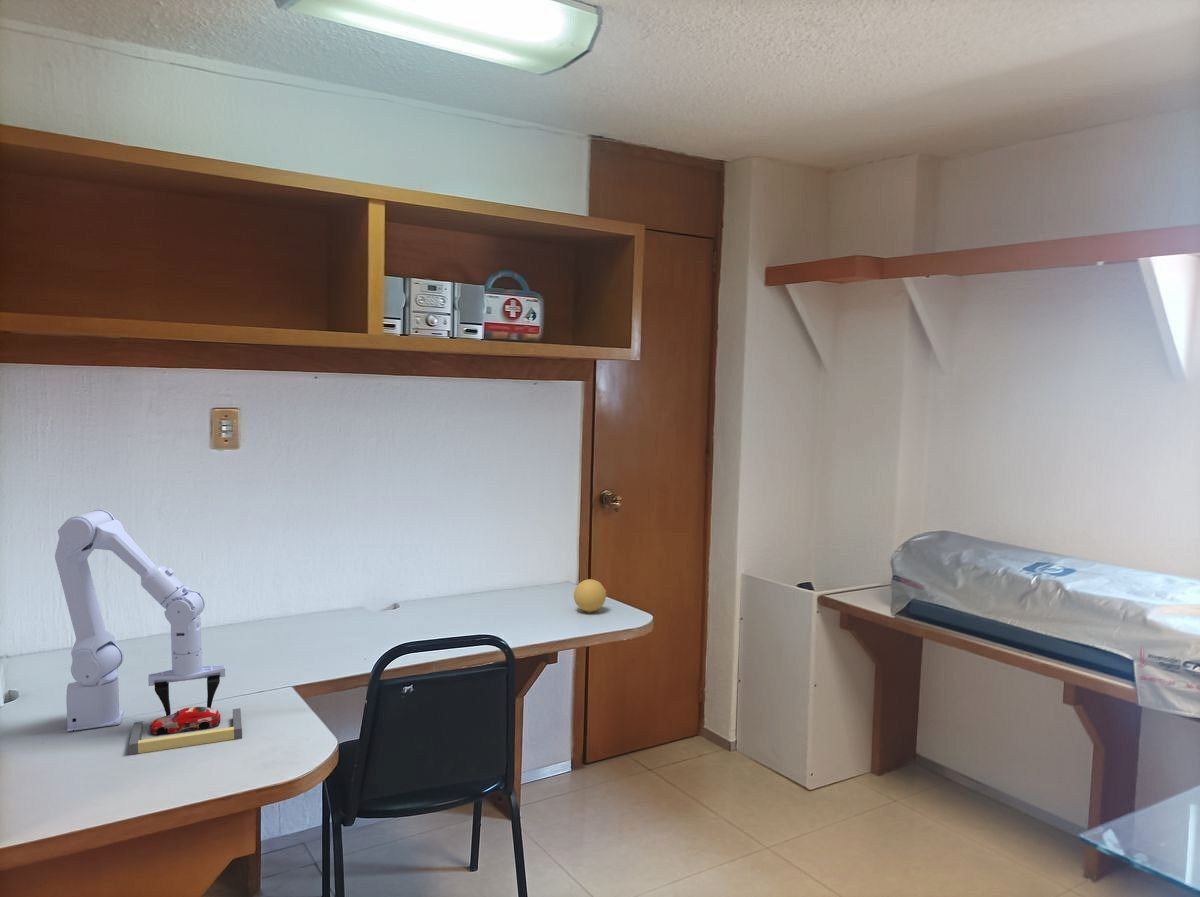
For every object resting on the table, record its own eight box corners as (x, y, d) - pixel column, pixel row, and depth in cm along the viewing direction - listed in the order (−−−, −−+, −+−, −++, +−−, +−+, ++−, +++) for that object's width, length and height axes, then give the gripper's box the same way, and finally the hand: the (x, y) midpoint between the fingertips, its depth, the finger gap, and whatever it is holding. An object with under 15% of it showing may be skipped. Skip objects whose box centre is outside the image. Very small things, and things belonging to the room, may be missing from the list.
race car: (148, 739, 176) (147, 719, 176) (151, 728, 181) (150, 709, 181) (219, 729, 181) (219, 710, 180) (221, 719, 186) (220, 701, 185)
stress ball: (596, 619, 265) (617, 595, 268) (574, 597, 263) (596, 573, 266) (583, 616, 274) (604, 593, 278) (562, 594, 272) (584, 571, 275)
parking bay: (129, 754, 168) (128, 744, 168) (134, 732, 178) (134, 722, 178) (242, 738, 176) (241, 728, 176) (240, 717, 186) (240, 708, 186)
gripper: (224, 640, 190) (226, 701, 191) (148, 649, 184) (151, 711, 185) (224, 650, 183) (226, 713, 185) (146, 659, 178) (149, 724, 179)
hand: (188, 713), depth 185 cm, fingers open, 7 cm apart
